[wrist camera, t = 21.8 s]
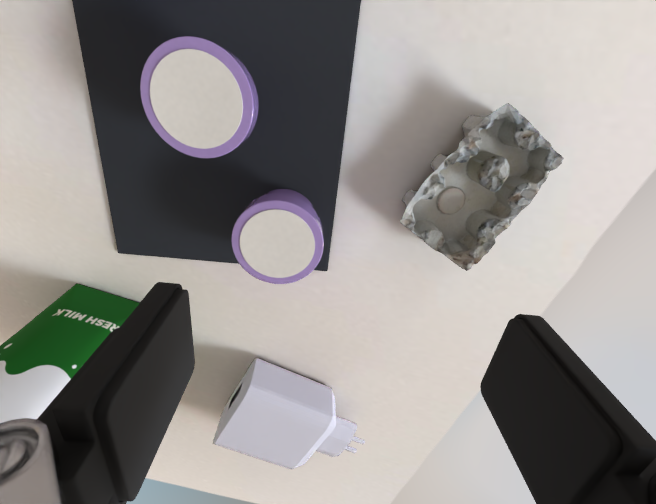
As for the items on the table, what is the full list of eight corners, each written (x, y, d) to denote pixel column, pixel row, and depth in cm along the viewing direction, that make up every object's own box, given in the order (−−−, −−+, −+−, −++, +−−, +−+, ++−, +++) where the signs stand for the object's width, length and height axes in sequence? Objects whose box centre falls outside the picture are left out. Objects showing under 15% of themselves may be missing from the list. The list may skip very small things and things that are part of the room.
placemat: (41, -191, 18) (36, -195, 17) (377, -135, 19) (377, -138, 18) (119, 251, 29) (117, 253, 29) (327, 269, 30) (327, 271, 30)
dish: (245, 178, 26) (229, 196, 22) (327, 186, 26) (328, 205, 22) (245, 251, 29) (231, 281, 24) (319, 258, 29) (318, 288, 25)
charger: (337, 448, 41) (222, 408, 37) (379, 402, 38) (257, 352, 34) (339, 490, 37) (210, 448, 33) (387, 442, 33) (248, 390, 30)
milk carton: (167, 302, 31) (-45, 592, 13) (149, 369, 35) (-36, 670, 17) (66, 270, 30) (-332, 552, 12) (59, 344, 33) (-254, 648, 15)
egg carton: (446, 255, 30) (464, 278, 26) (384, 204, 27) (394, 222, 24) (548, 158, 26) (585, 170, 22) (486, 92, 24) (515, 93, 20)
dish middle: (169, 40, 22) (131, 28, 18) (267, 53, 22) (253, 43, 18) (177, 141, 25) (146, 152, 20) (264, 151, 25) (252, 164, 21)
